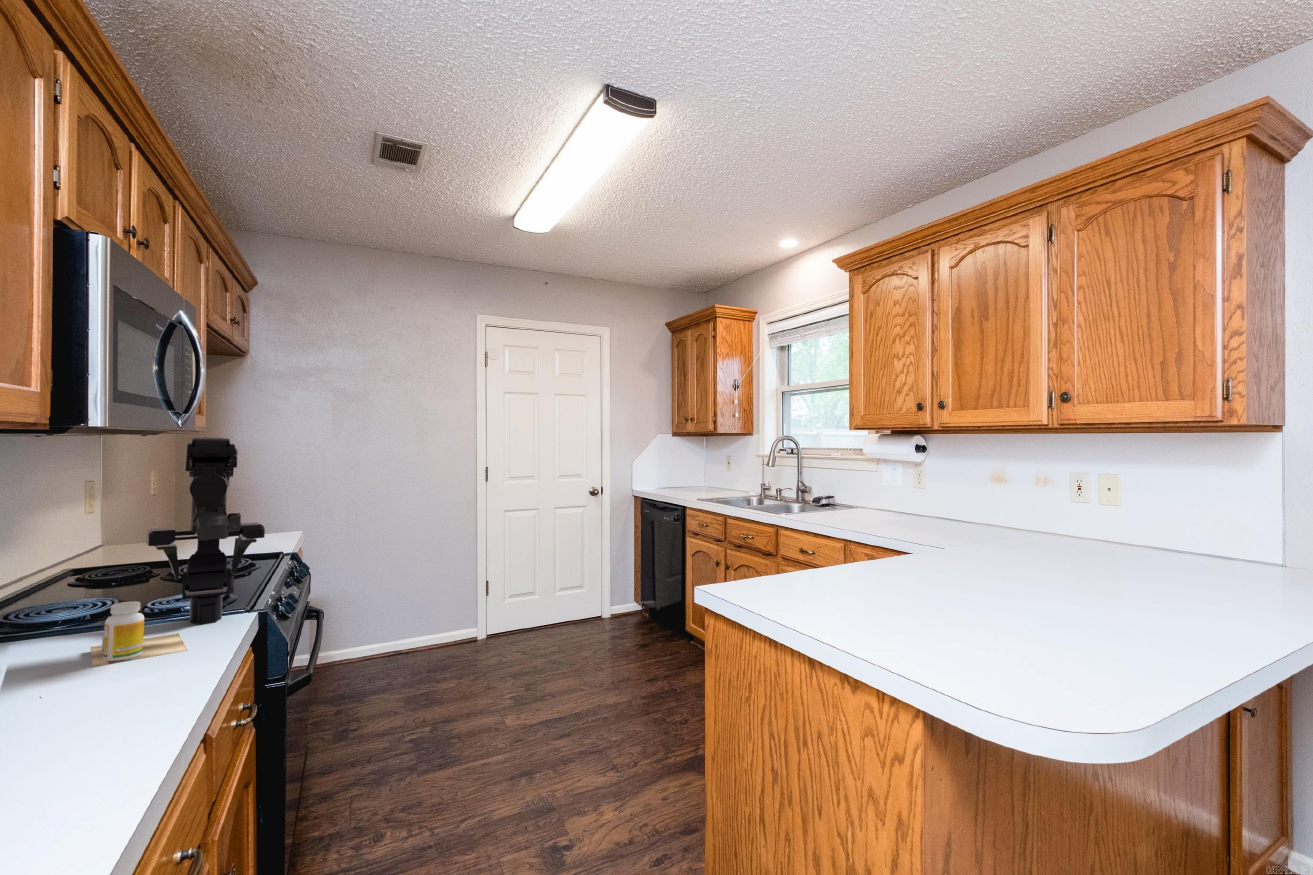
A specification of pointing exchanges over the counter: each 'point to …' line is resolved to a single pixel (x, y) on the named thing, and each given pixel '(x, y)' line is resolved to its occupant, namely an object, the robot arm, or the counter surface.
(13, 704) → the counter surface
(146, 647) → the plywood panel
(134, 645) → the supplement bottle
